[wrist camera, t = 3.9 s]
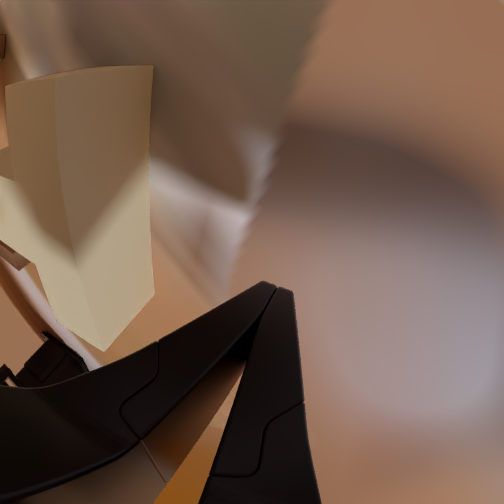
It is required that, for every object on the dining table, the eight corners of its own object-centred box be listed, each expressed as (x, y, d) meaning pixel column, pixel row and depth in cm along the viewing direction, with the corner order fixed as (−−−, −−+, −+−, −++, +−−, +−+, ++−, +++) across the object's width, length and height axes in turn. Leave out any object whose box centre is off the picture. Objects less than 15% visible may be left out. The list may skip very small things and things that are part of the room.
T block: (155, 293, 14) (103, 352, 11) (52, 243, 16) (5, 280, 12) (154, 65, 8) (54, 78, 5) (32, 74, 10) (-37, 95, 7)
